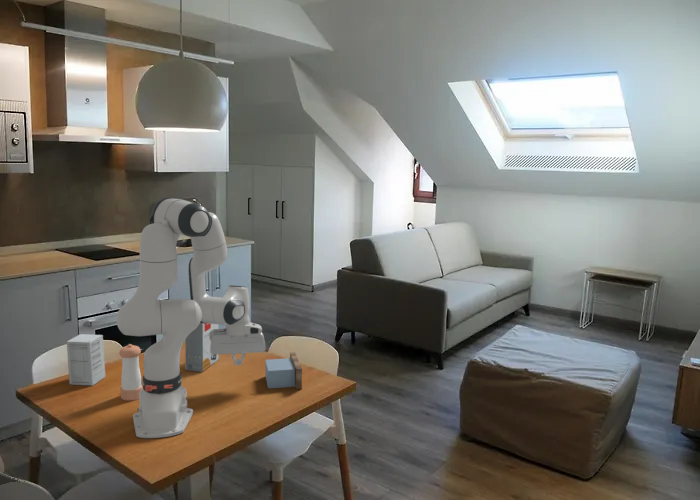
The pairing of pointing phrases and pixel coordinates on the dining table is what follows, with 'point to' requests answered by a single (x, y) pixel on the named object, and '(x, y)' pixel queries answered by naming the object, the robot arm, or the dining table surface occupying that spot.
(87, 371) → the supplement box
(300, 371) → the board
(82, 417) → the dining table surface
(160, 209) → the robot arm
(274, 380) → the slate block
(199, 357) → the hard drive box
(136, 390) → the pepper shaker
